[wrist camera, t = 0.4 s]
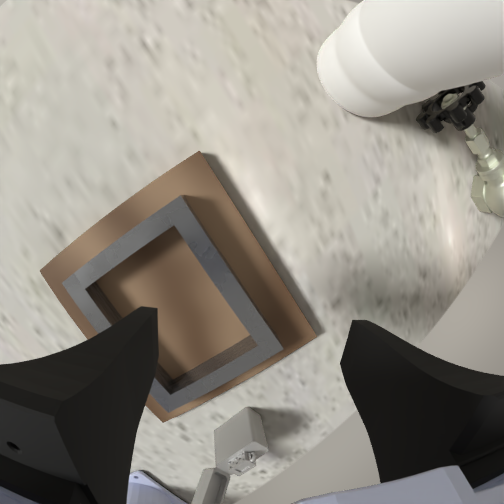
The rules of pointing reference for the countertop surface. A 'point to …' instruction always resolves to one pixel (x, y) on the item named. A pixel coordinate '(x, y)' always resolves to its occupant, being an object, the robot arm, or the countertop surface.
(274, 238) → the countertop surface
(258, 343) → the steel collar
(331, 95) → the water bottle
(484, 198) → the valve
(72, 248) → the walnut board
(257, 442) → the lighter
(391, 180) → the countertop surface
